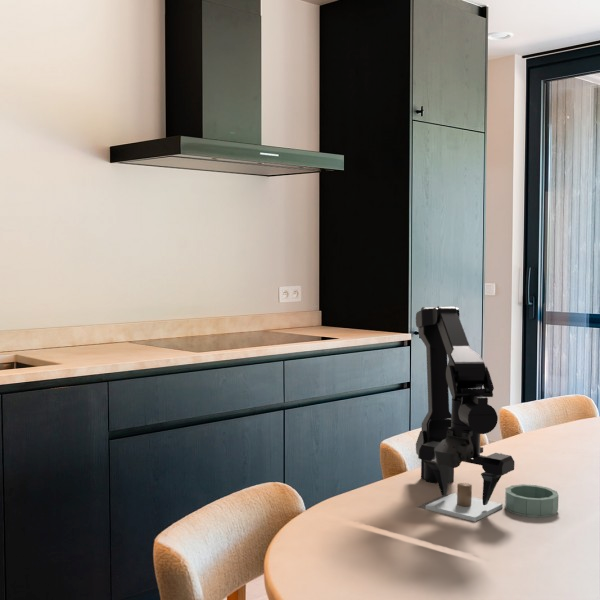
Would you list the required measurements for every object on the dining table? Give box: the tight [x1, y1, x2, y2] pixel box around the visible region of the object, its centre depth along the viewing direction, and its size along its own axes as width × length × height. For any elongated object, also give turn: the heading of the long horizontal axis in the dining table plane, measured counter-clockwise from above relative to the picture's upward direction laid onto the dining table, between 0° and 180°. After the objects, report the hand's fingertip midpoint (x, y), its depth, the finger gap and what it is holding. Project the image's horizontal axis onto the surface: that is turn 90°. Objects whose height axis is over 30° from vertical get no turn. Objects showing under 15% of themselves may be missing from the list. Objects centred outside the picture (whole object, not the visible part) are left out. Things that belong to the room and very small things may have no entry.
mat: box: [417, 494, 503, 523], centre depth 165 cm, size 13×11×1 cm
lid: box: [425, 482, 503, 522], centre depth 164 cm, size 11×11×5 cm
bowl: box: [504, 483, 559, 518], centre depth 164 cm, size 10×10×4 cm
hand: (464, 499), depth 164 cm, fingers open, 9 cm apart
